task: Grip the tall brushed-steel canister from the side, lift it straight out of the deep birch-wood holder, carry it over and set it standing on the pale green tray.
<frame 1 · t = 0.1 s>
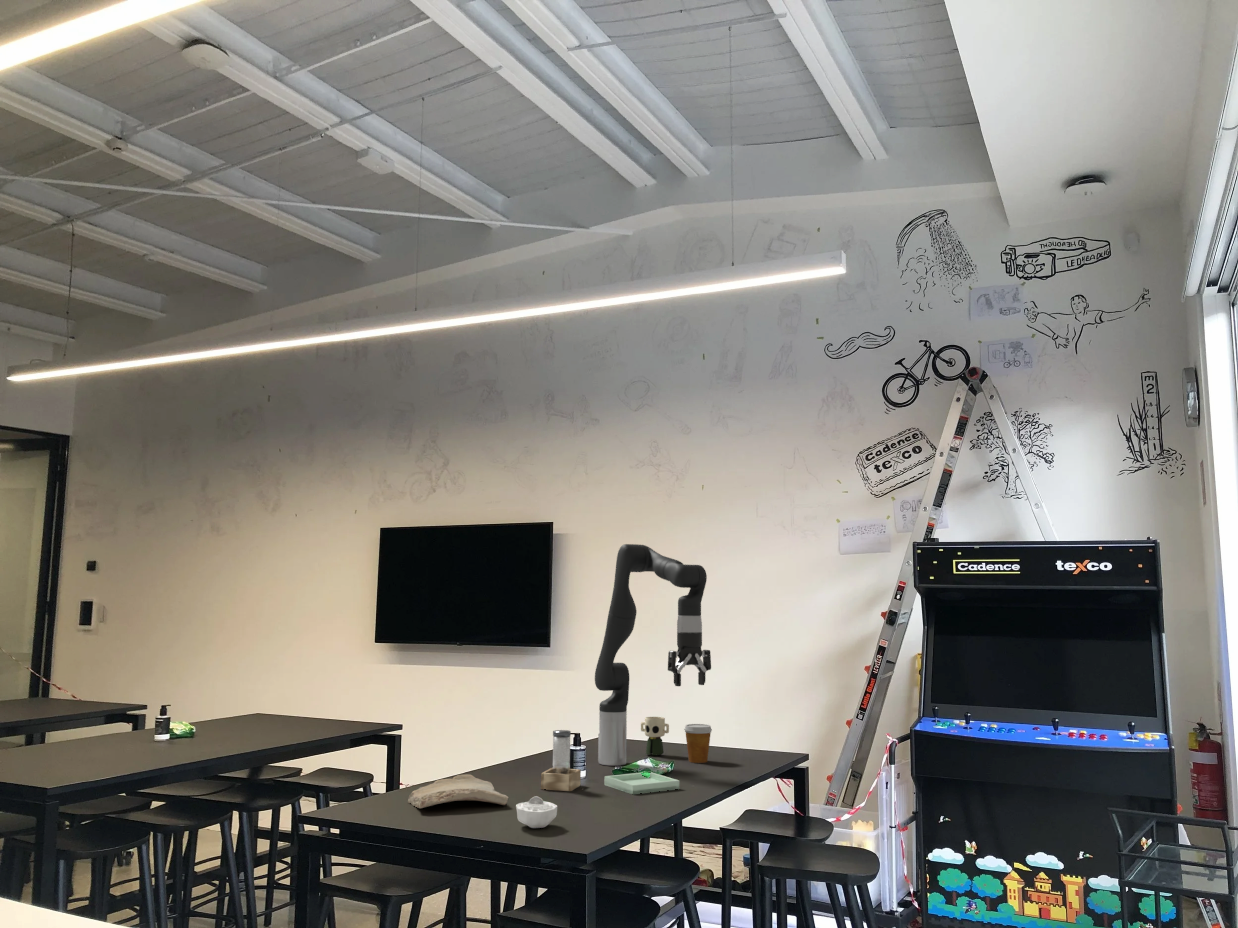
hand: (689, 685, 291), 29 cm above the table, tool pointing down, fingers open, 8 cm apart
holder: (560, 787, 285), on the table
disposable coffee cup: (698, 762, 331), on the table
tray: (641, 786, 286), on the table
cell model: (536, 827, 236), on the table
beige pottery shard: (457, 805, 261), on the table
canister: (561, 758, 286), in the holder
character mug: (654, 755, 344), on the table
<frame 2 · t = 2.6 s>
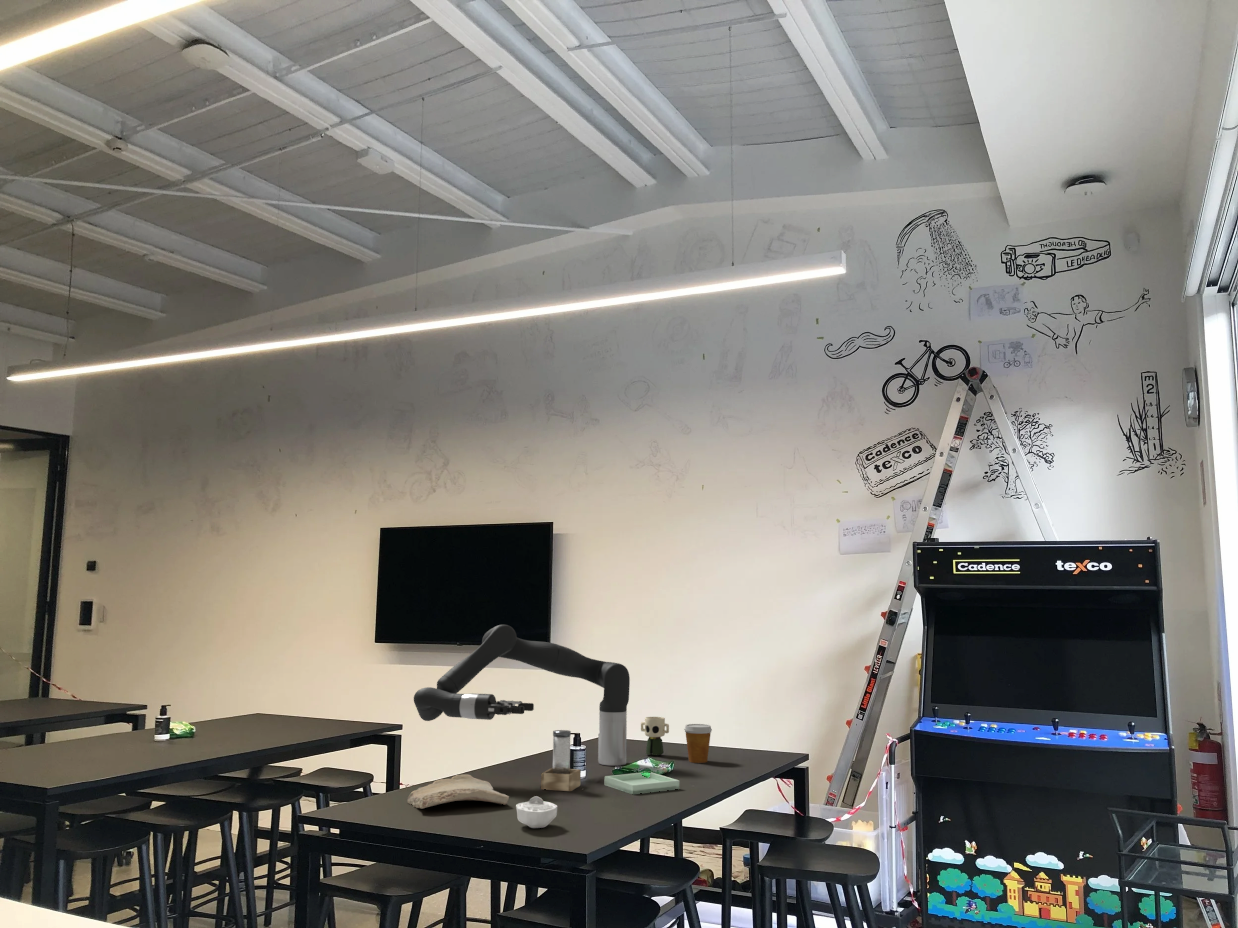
hand: (528, 708, 290), 22 cm above the table, tool horizontal, fingers open, 8 cm apart
nothing on the table moved.
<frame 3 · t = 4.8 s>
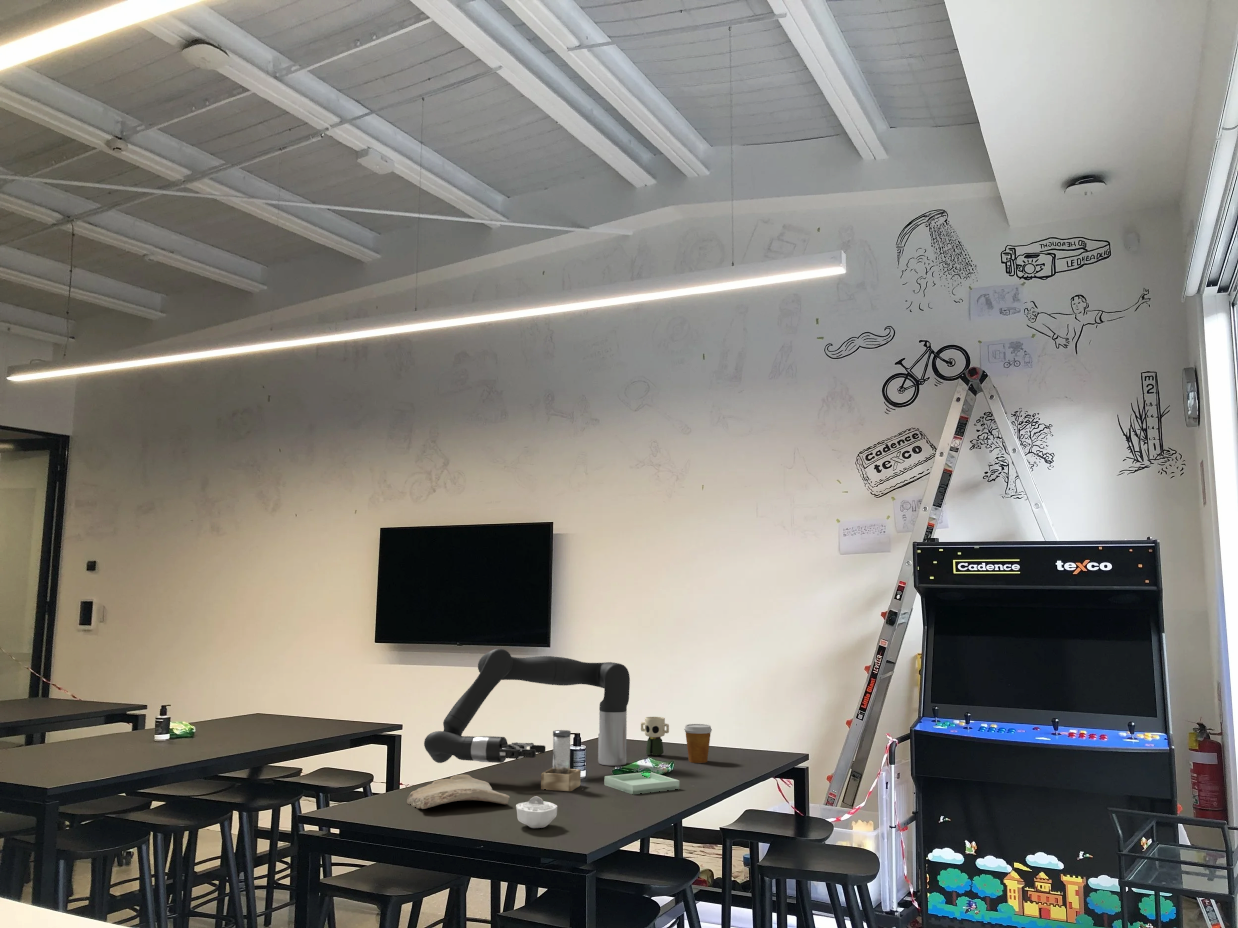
hand: (540, 751, 288), 10 cm above the table, tool horizontal, fingers open, 8 cm apart
nothing on the table moved.
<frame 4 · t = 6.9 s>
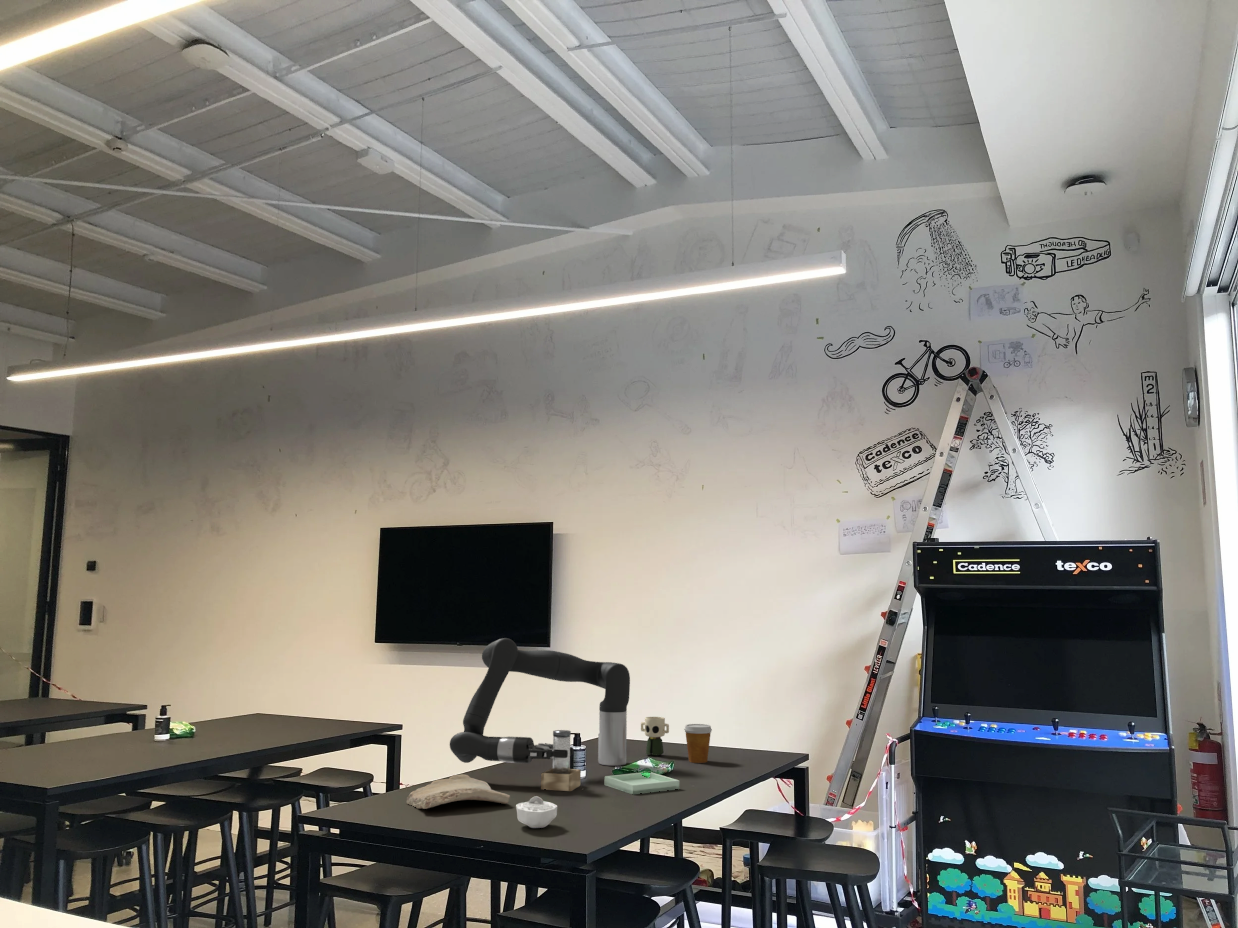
hand: (569, 752, 285), 10 cm above the table, tool horizontal, fingers closed on canister, 5 cm apart
canister: (561, 758, 286), in the holder, touching gripper
everything else where it was.
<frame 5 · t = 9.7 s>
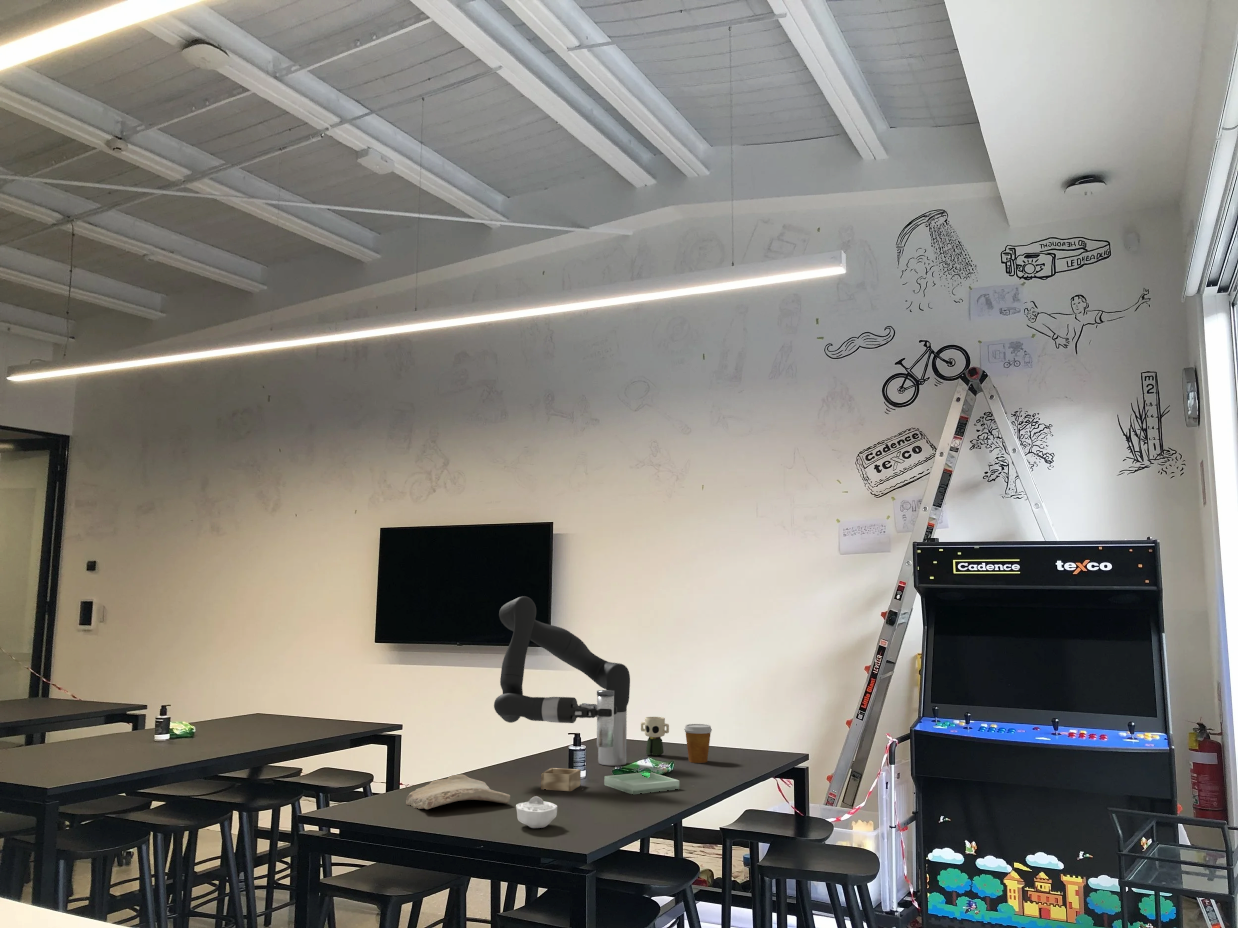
hand: (614, 711, 288), 22 cm above the table, tool horizontal, fingers closed on canister, 5 cm apart
canister: (605, 718, 288), point 20 cm above the table, touching gripper
everything else where it was.
when the fingers open (12 cm above the table, at t = 12.8 s): canister stays where it is, resting on tray.
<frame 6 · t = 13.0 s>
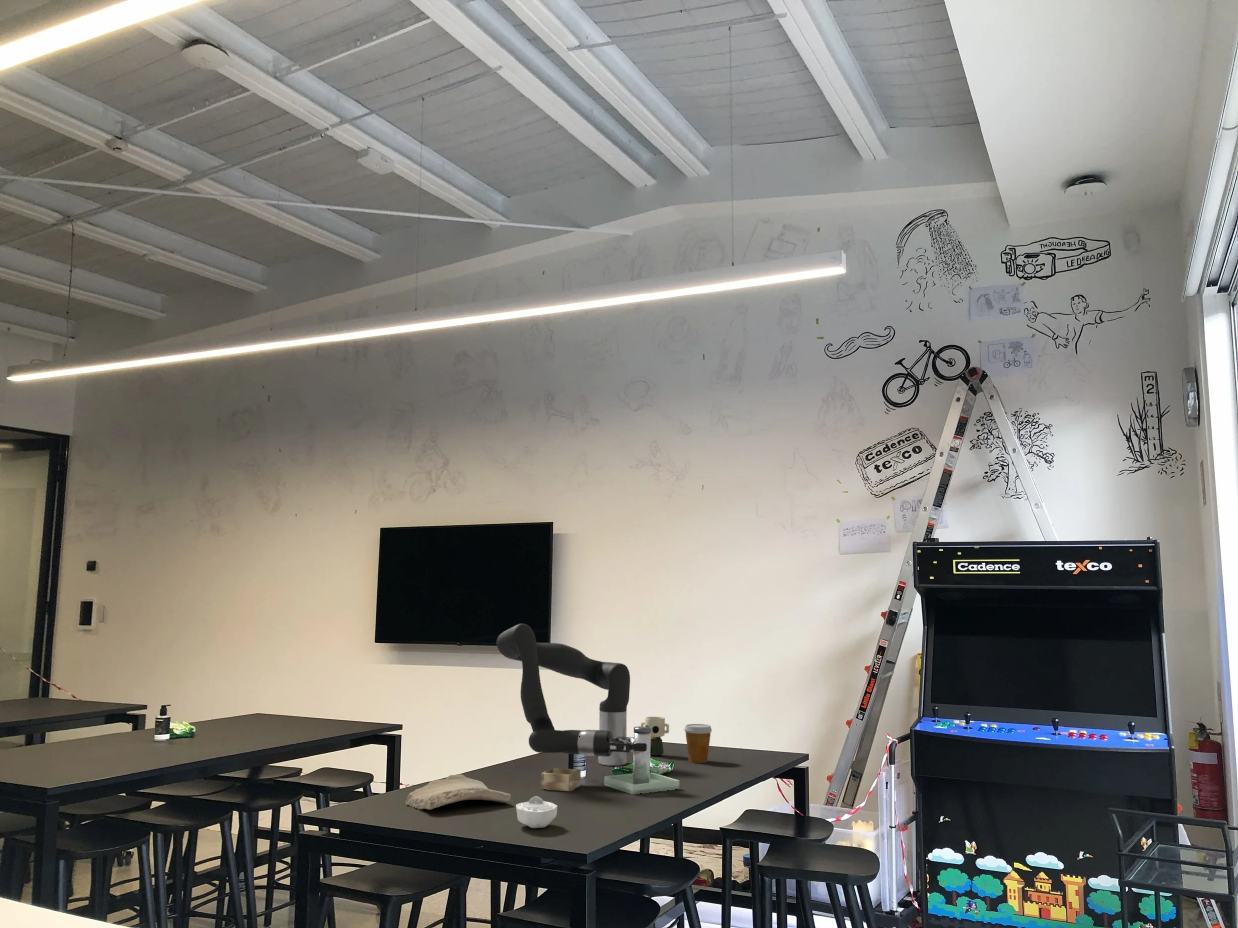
hand: (649, 745, 287), 12 cm above the table, tool horizontal, fingers open, 6 cm apart
canister: (641, 755, 287), in the tray, point 9 cm above the table
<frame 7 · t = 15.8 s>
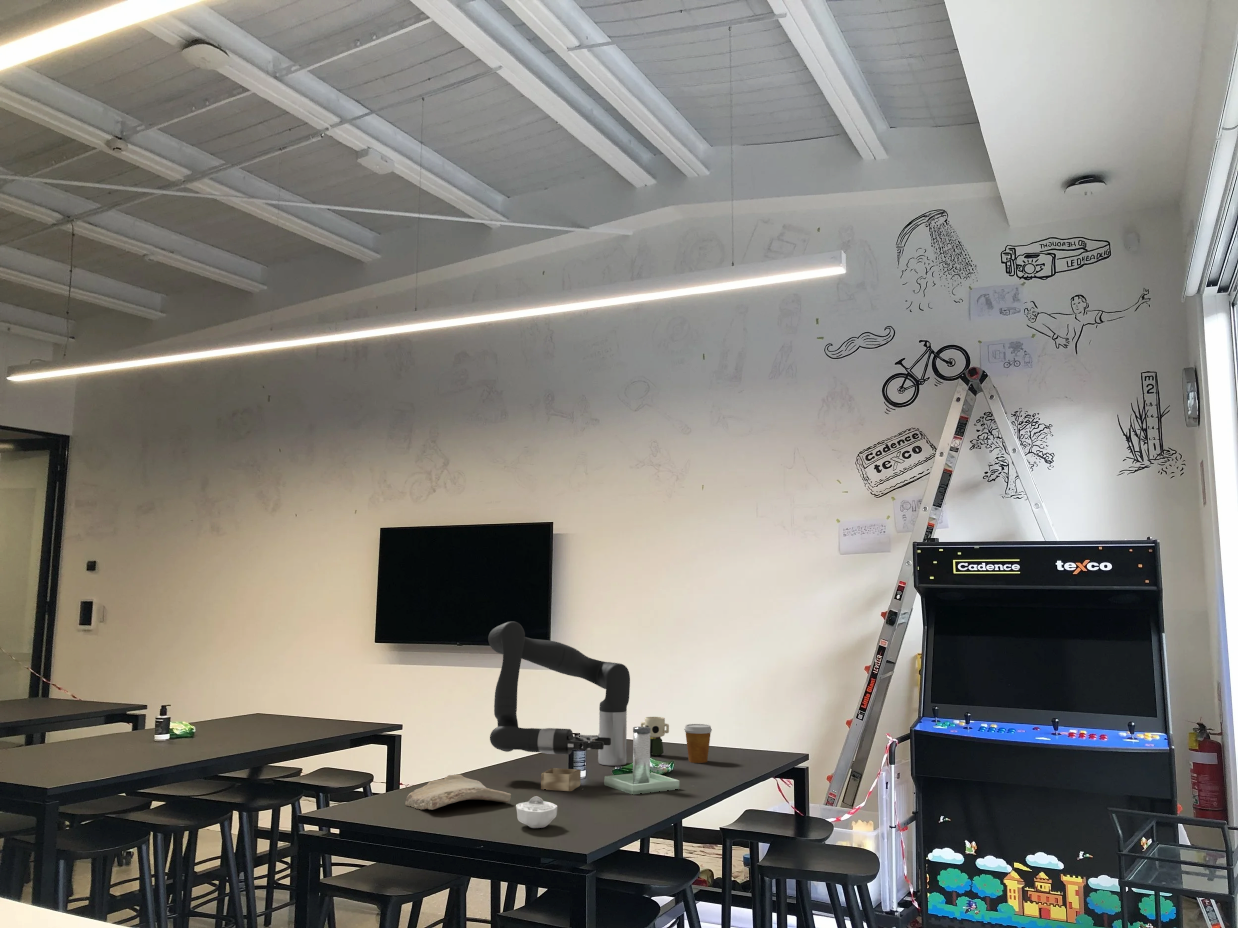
hand: (607, 743, 290), 12 cm above the table, tool horizontal, fingers open, 8 cm apart
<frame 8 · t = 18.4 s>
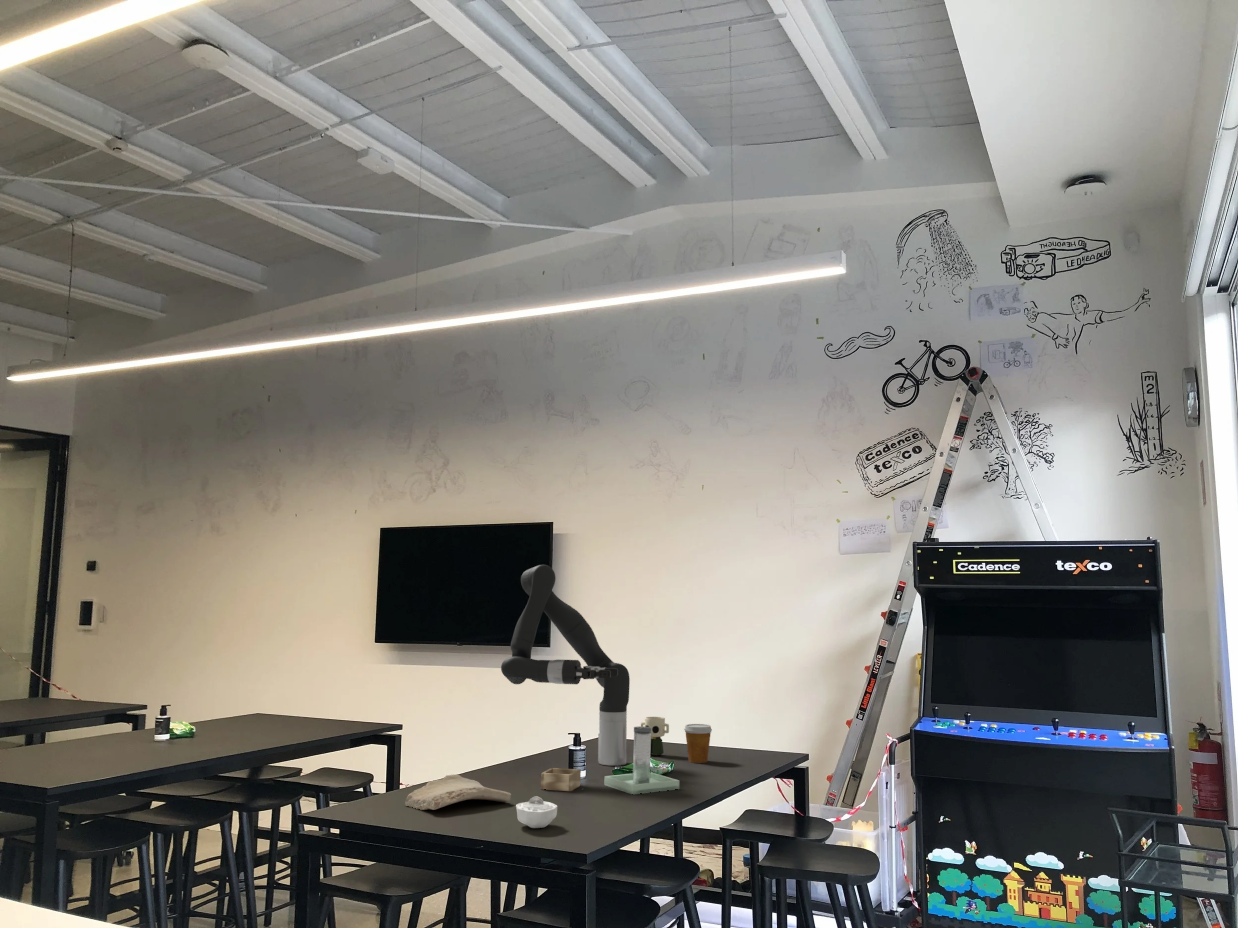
hand: (614, 673, 301), 32 cm above the table, tool horizontal, fingers open, 8 cm apart
at the end: canister inside the target area on the tray (0.1 cm from its centre), point 9.0 cm above the tray's base; canister tilted 1°; the gripper is holding nothing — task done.
